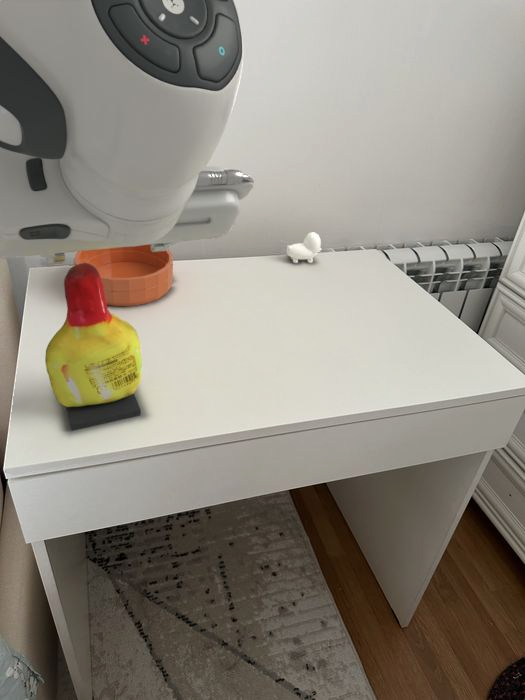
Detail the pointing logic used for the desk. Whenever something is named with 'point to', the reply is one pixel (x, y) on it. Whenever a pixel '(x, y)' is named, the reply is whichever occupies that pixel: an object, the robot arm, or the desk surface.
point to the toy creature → (305, 248)
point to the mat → (103, 412)
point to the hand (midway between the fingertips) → (107, 249)
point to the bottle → (92, 346)
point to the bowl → (131, 273)
